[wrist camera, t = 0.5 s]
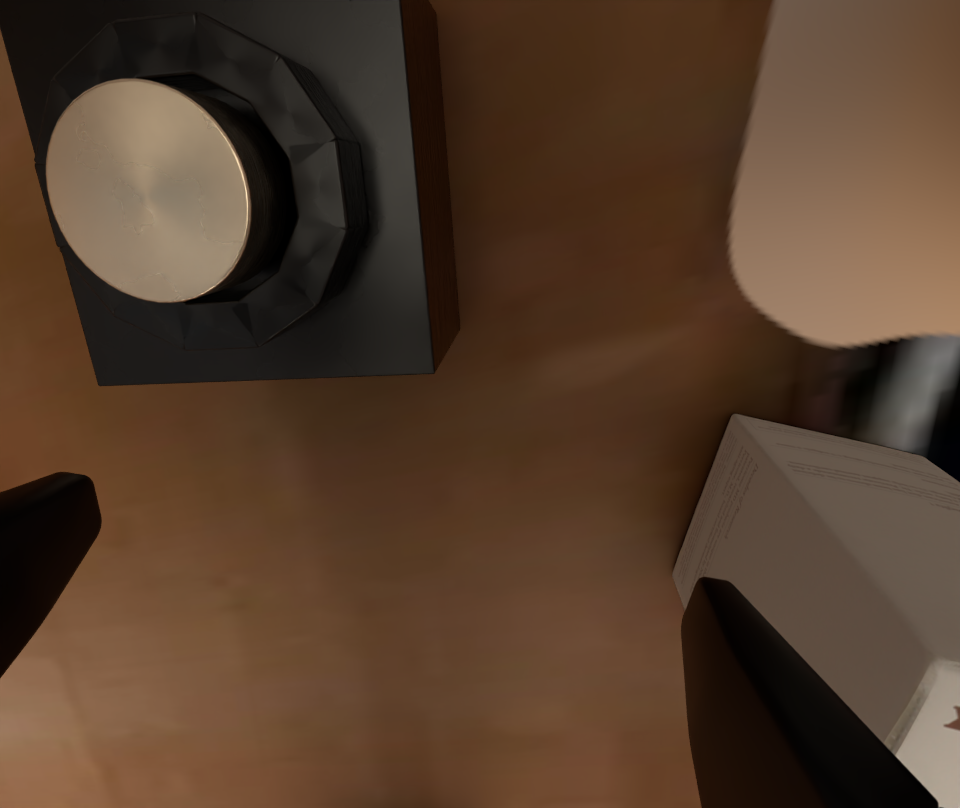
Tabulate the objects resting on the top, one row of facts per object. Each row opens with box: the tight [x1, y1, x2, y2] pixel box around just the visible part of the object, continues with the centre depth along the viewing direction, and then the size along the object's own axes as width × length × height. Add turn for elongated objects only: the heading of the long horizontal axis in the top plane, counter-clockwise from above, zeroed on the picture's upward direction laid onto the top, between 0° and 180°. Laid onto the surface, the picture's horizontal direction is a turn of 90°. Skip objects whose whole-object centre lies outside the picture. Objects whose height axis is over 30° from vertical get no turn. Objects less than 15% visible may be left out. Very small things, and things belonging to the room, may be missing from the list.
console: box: [0, 0, 460, 386], centre depth 18 cm, size 10×10×8 cm
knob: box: [46, 78, 288, 303], centre depth 14 cm, size 4×4×2 cm
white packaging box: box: [673, 414, 960, 808], centre depth 18 cm, size 7×7×13 cm
